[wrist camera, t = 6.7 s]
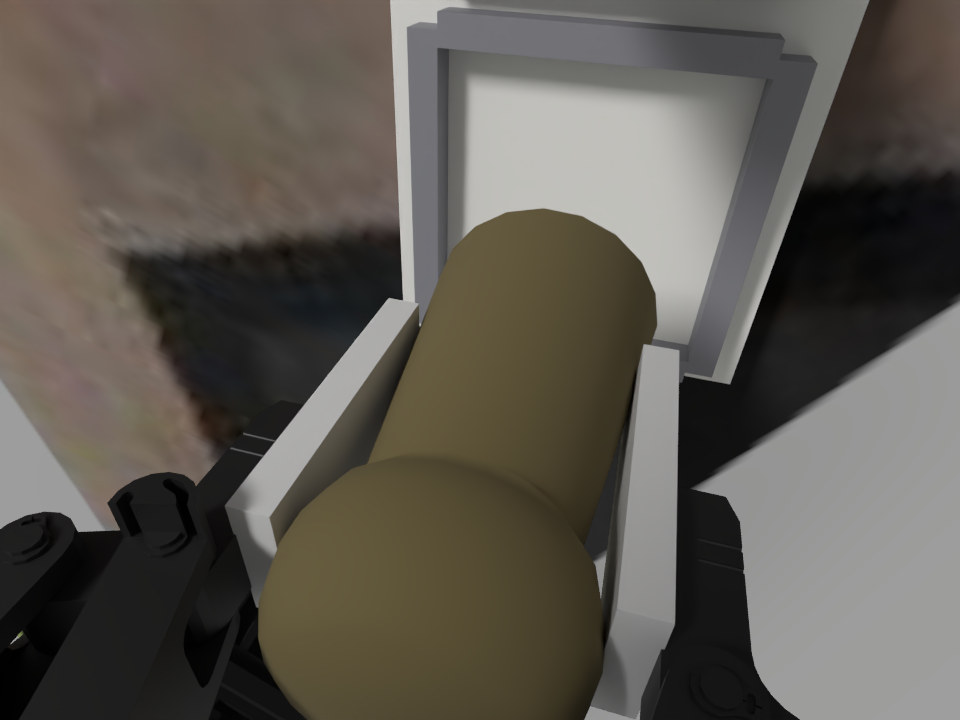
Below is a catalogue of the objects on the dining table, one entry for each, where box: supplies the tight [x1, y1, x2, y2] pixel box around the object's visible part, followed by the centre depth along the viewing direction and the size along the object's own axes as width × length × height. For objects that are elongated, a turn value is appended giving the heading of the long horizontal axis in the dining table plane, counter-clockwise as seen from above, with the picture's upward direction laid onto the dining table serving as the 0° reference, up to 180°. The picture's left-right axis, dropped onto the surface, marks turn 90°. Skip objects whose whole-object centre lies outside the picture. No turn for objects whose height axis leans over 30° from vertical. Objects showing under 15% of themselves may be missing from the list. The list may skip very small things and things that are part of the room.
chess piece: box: [208, 589, 307, 720], centre depth 30 cm, size 8×8×20 cm
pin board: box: [390, 0, 869, 384], centre depth 15 cm, size 26×14×13 cm, turn 177°
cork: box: [258, 208, 657, 720], centre depth 12 cm, size 6×6×11 cm
